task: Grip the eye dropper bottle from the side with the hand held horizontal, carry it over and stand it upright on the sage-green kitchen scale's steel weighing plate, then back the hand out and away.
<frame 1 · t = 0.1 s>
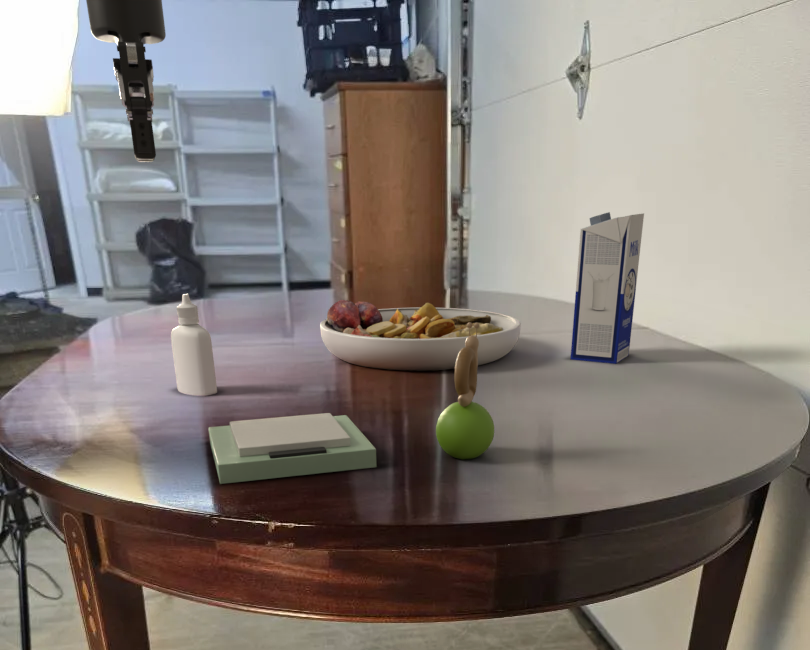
hand: (145, 160, 86), 26 cm above the table, tool pointing down, fingers open, 8 cm apart
eye dropper bottle: (197, 395, 97), on the table
scale: (289, 457, 74), on the table
snail figurine: (465, 458, 74), on the table
milk carton: (599, 360, 114), on the table
bowl: (420, 356, 118), on the table
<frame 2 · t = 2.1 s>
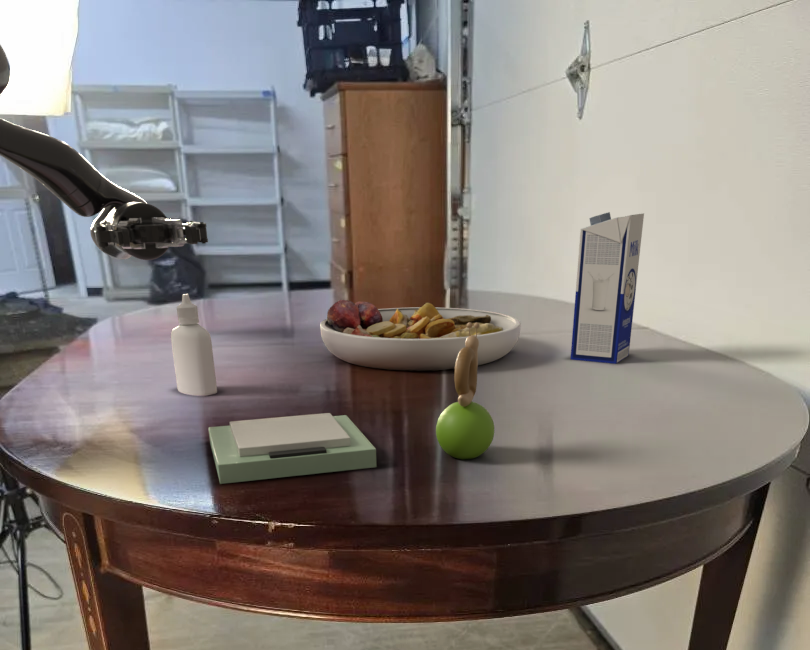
hand: (161, 236, 99), 18 cm above the table, tool horizontal, fingers open, 8 cm apart
nothing on the table moved.
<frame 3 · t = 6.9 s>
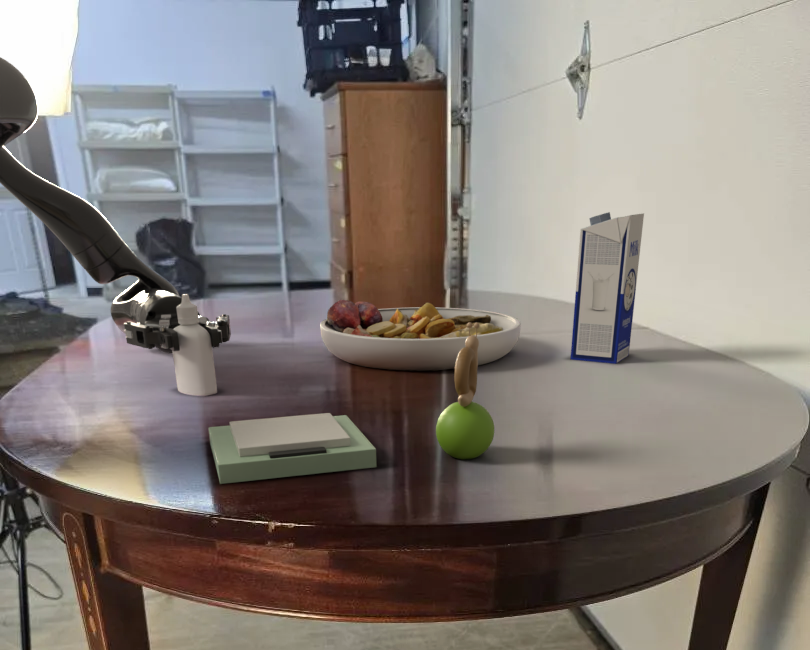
hand: (196, 340, 92), 7 cm above the table, tool horizontal, fingers closed on eye dropper bottle, 4 cm apart
eye dropper bottle: (197, 395, 97), on the table, touching gripper
everything else where it was.
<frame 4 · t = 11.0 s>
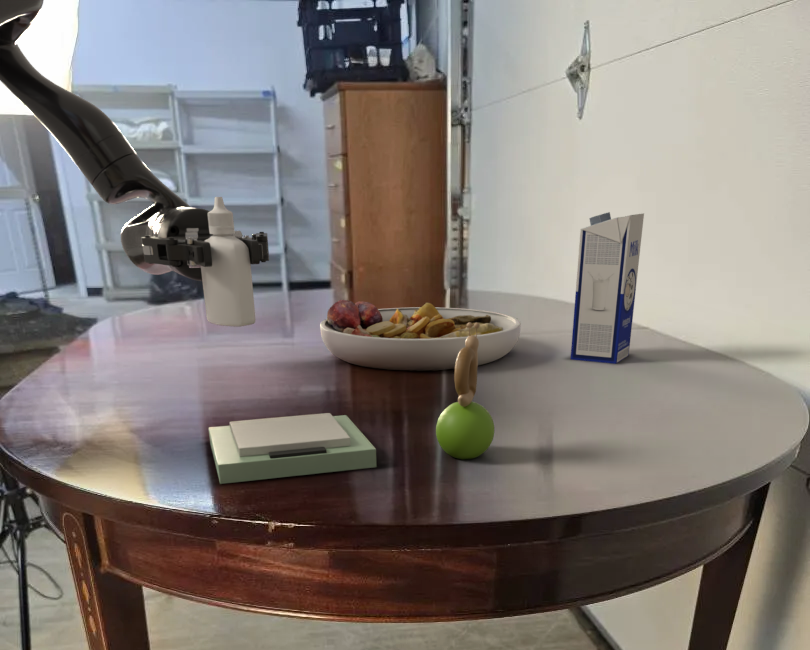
hand: (232, 253, 75), 18 cm above the table, tool horizontal, fingers closed on eye dropper bottle, 4 cm apart
eye dropper bottle: (231, 325, 80), point 11 cm above the table, touching gripper
everything else where it was.
when the fingers open (10 cm above the table, at t = 15.2 s): eye dropper bottle stays where it is, resting on scale.
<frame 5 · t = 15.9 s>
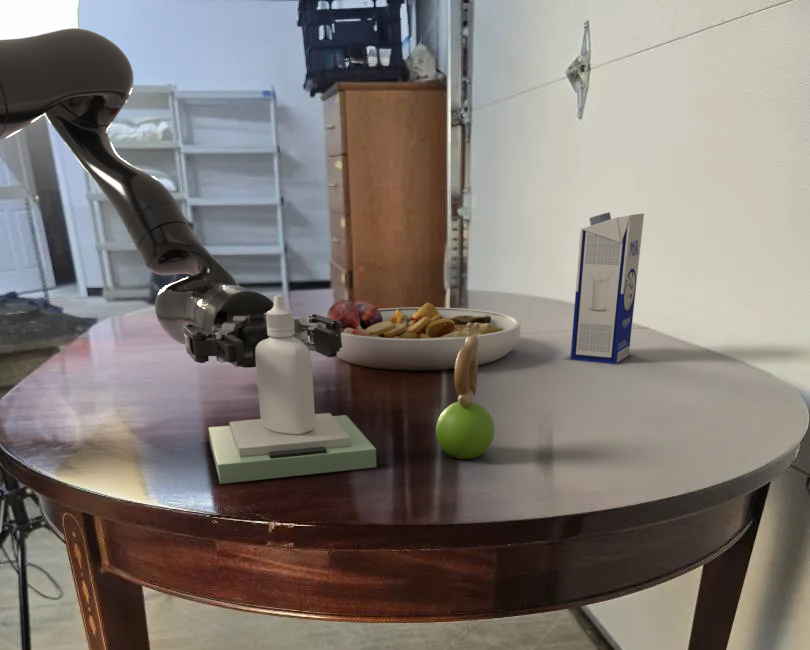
hand: (288, 349, 68), 10 cm above the table, tool horizontal, fingers open, 8 cm apart
eye dropper bottle: (288, 430, 73), point 3 cm above the table, touching scale
everything else where it was.
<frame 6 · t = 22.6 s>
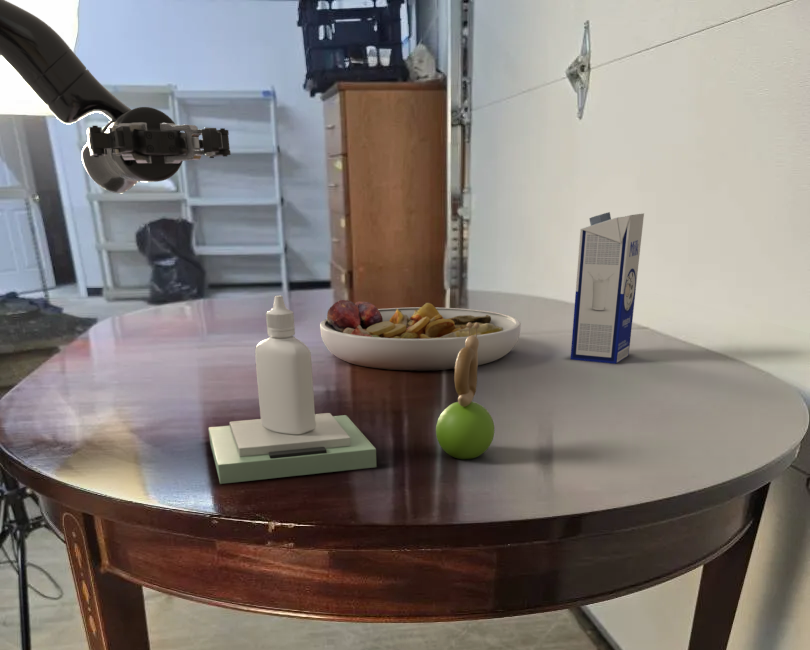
hand: (172, 139, 77), 28 cm above the table, tool horizontal, fingers open, 8 cm apart
nothing on the table moved.
at the end: eye dropper bottle inside the target area on the scale (0.2 cm from its centre), point 2.6 cm above the scale's base; eye dropper bottle tilted 0°; the gripper is holding nothing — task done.
